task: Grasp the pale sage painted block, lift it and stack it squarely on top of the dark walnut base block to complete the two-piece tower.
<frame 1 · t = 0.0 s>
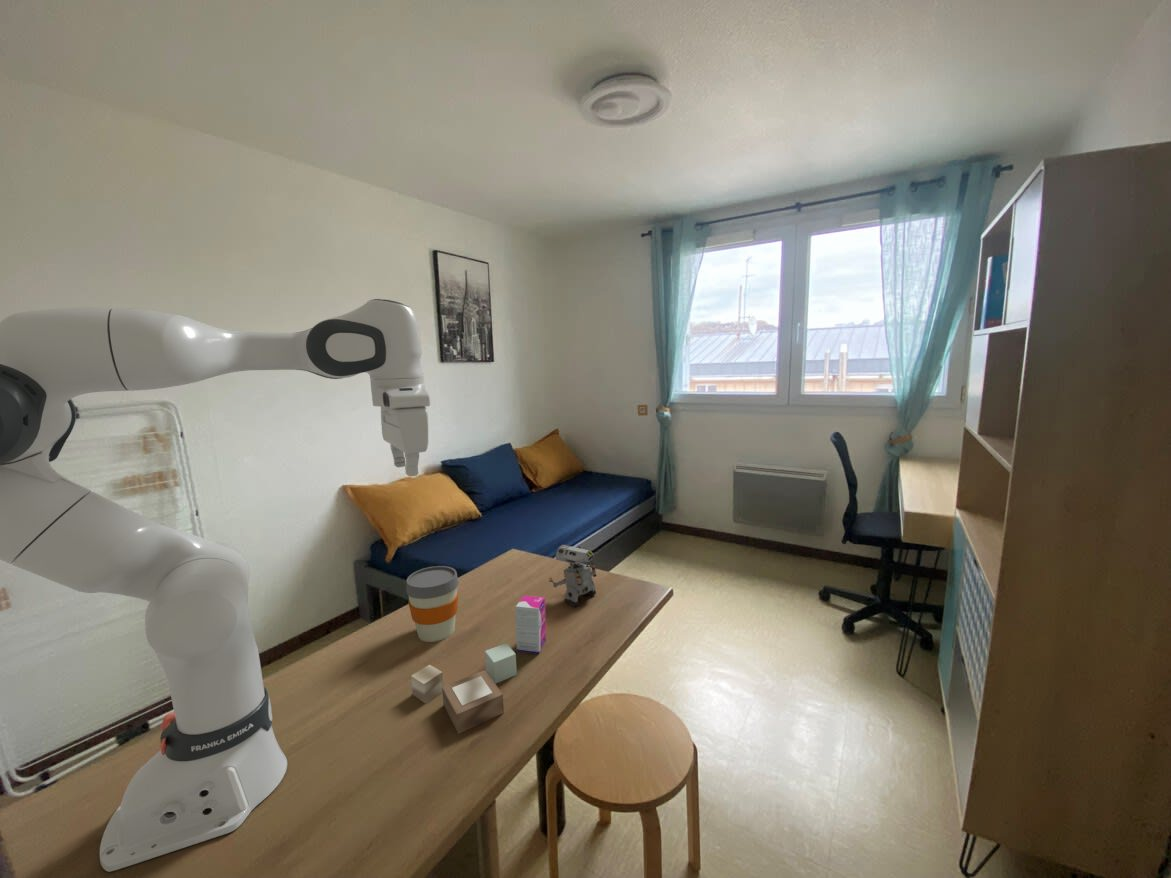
hand: (405, 470, 85), 48 cm above the table, fingers open, 8 cm apart
reusable coffee cup: (436, 632, 119), on the table
supplement box: (532, 646, 112), on the table
sage block: (501, 673, 102), on the table
figurine: (574, 597, 135), on the table
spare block: (428, 693, 97), on the table
walnut base: (473, 709, 92), on the table
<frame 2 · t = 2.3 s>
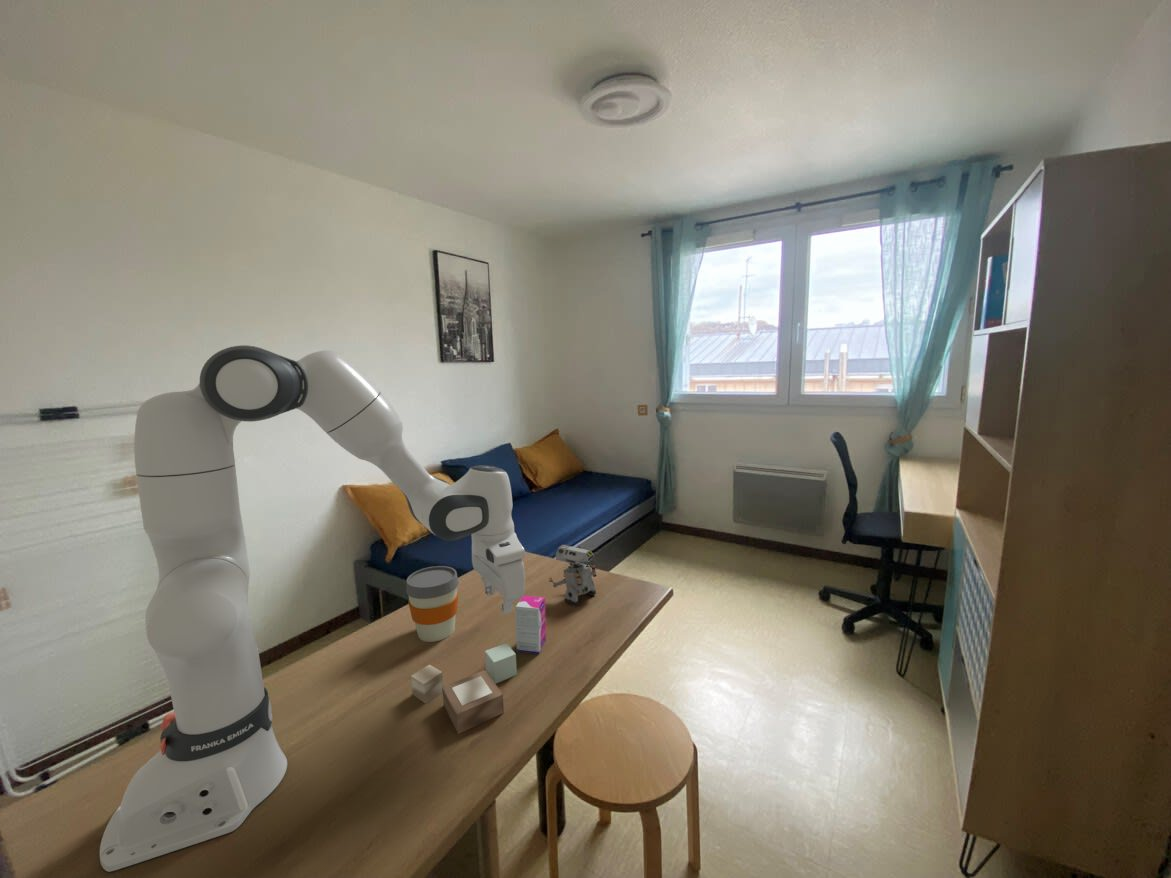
hand: (498, 602, 100), 16 cm above the table, fingers open, 8 cm apart
nothing on the table moved.
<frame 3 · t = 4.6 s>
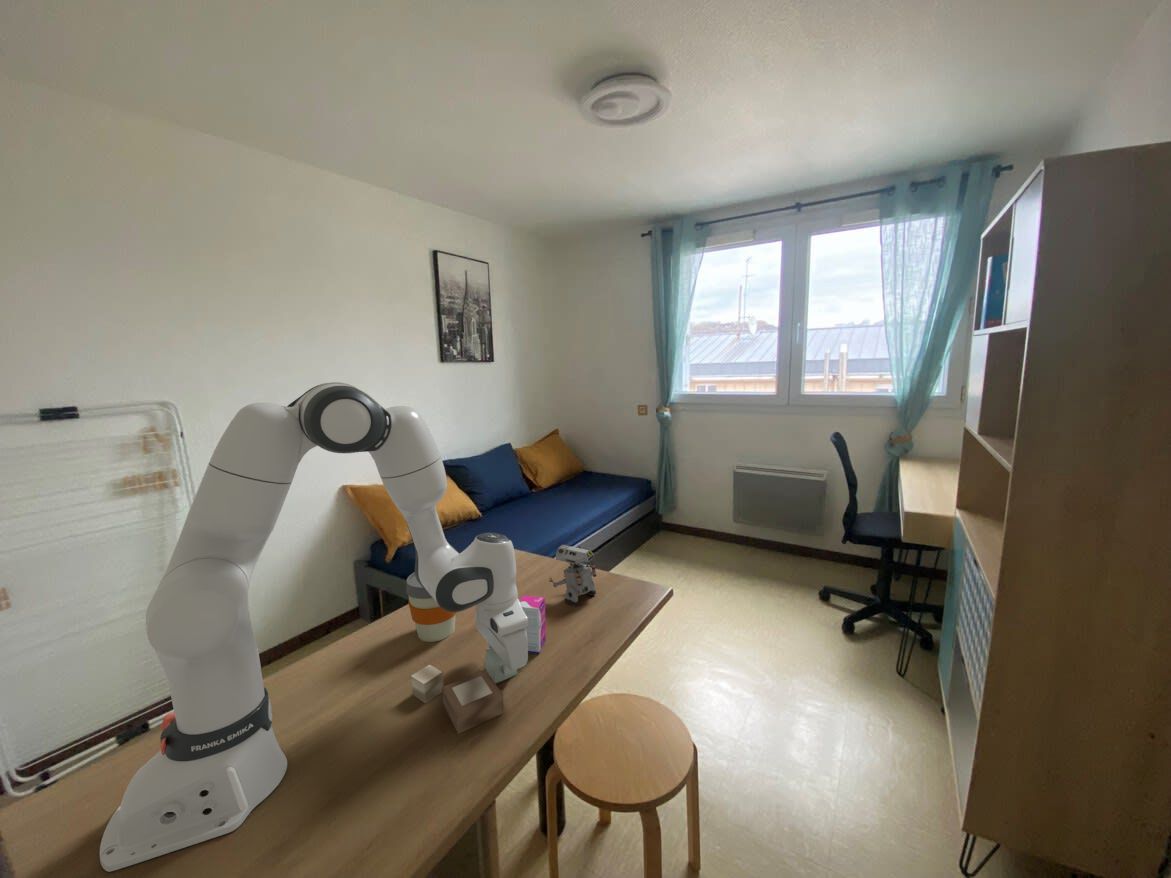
hand: (501, 665, 102), 2 cm above the table, fingers closed on sage block, 5 cm apart
sage block: (501, 672, 102), on the table, touching gripper
everything else where it was.
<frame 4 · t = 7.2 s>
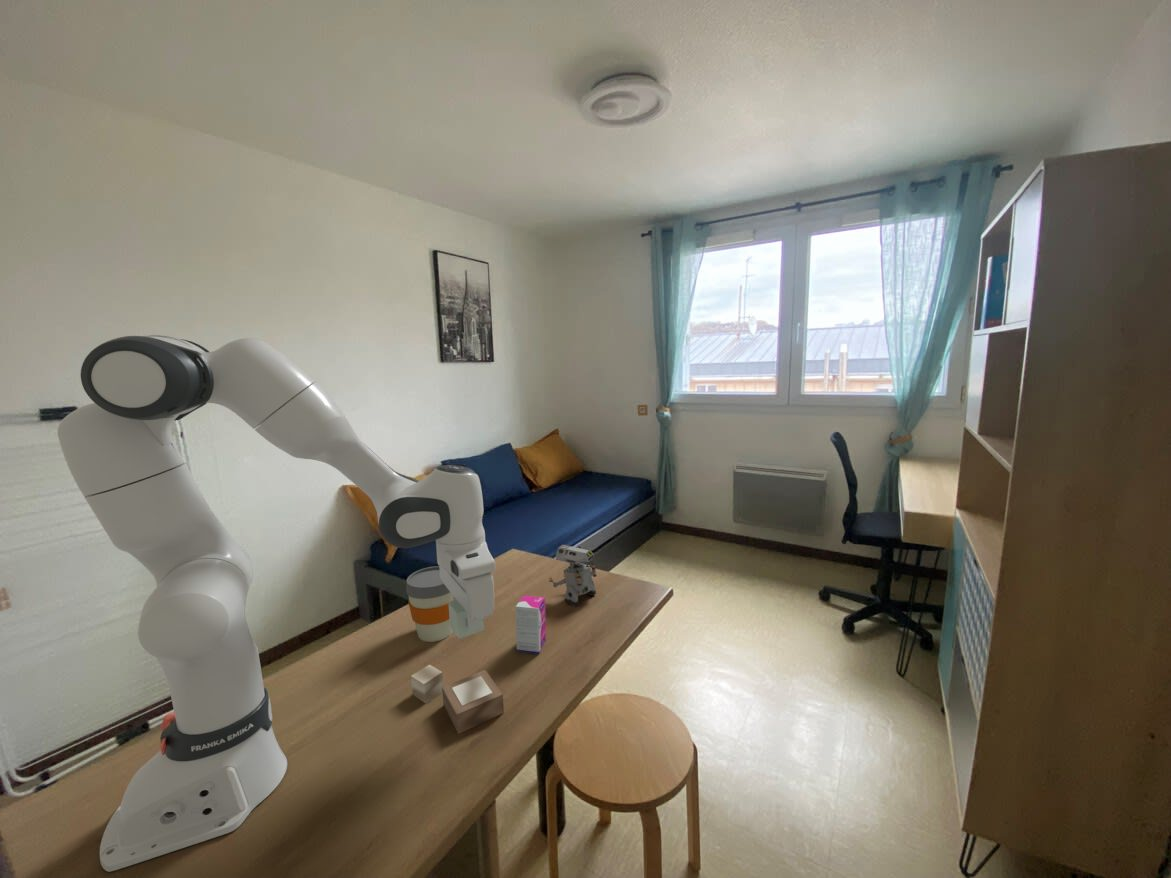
hand: (466, 620, 89), 19 cm above the table, fingers closed on sage block, 5 cm apart
sage block: (467, 628, 89), point 17 cm above the table, touching gripper
everything else where it was.
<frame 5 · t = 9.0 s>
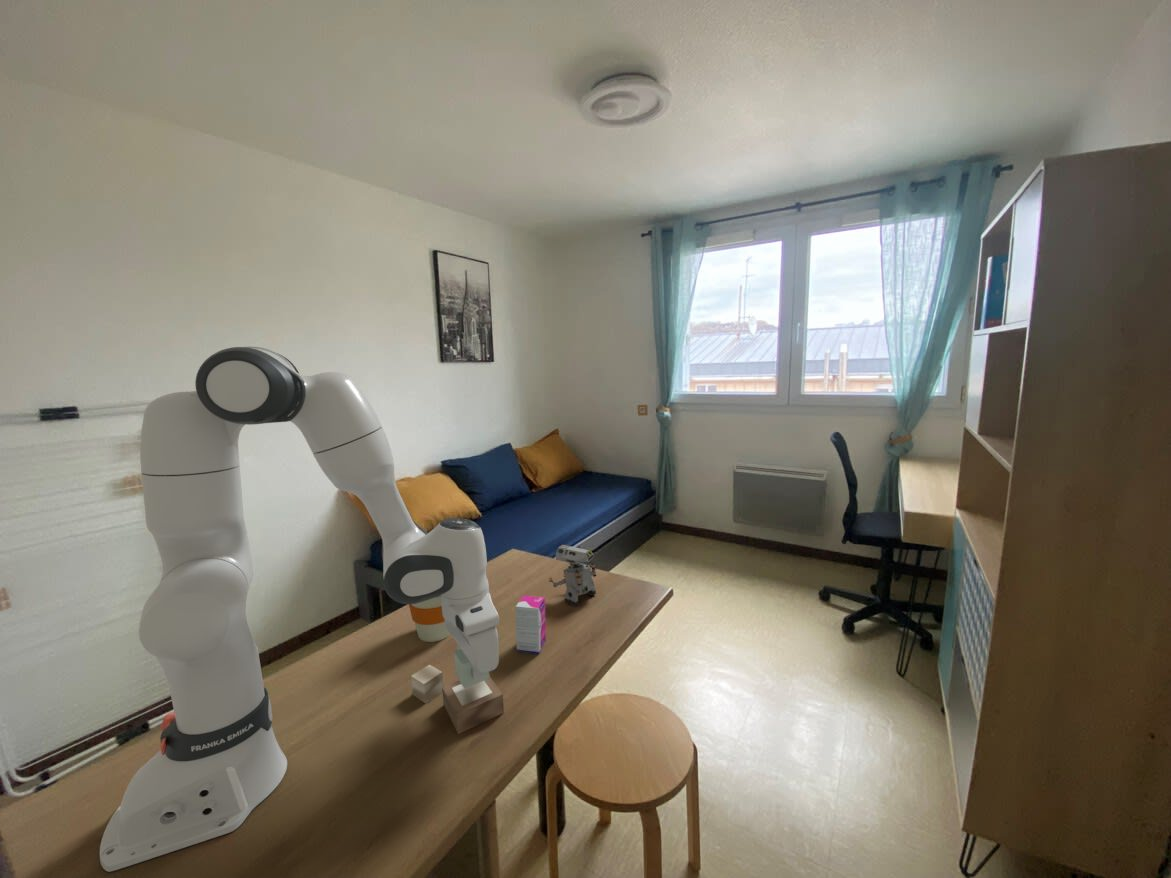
hand: (471, 668, 90), 9 cm above the table, fingers closed on sage block, 5 cm apart
sage block: (472, 676, 91), point 7 cm above the table, touching gripper
everything else where it was.
when the fingers open (6 cm above the table, at t = 10.3 s): sage block stays where it is, resting on walnut base.
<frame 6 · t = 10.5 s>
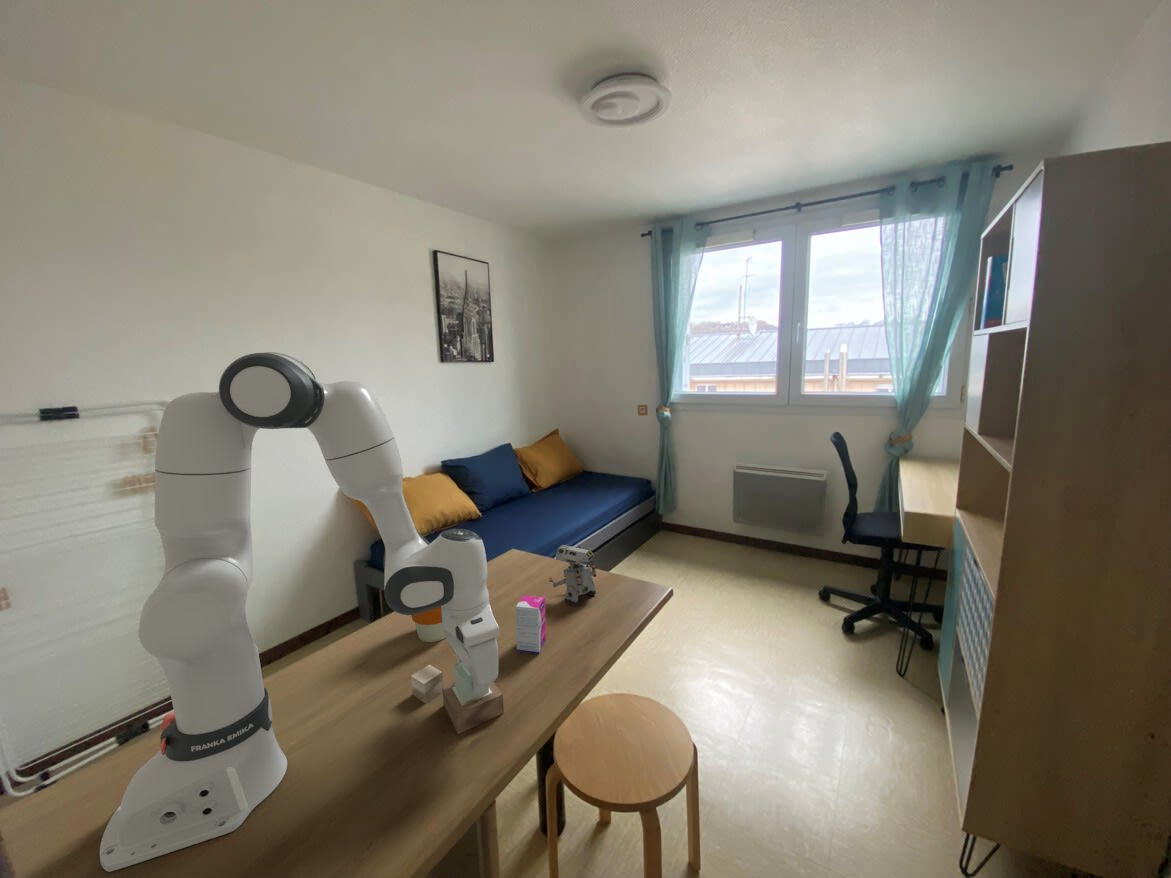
hand: (470, 679, 91), 6 cm above the table, fingers open, 6 cm apart
sage block: (472, 690, 91), point 4 cm above the table, touching walnut base
everything else where it was.
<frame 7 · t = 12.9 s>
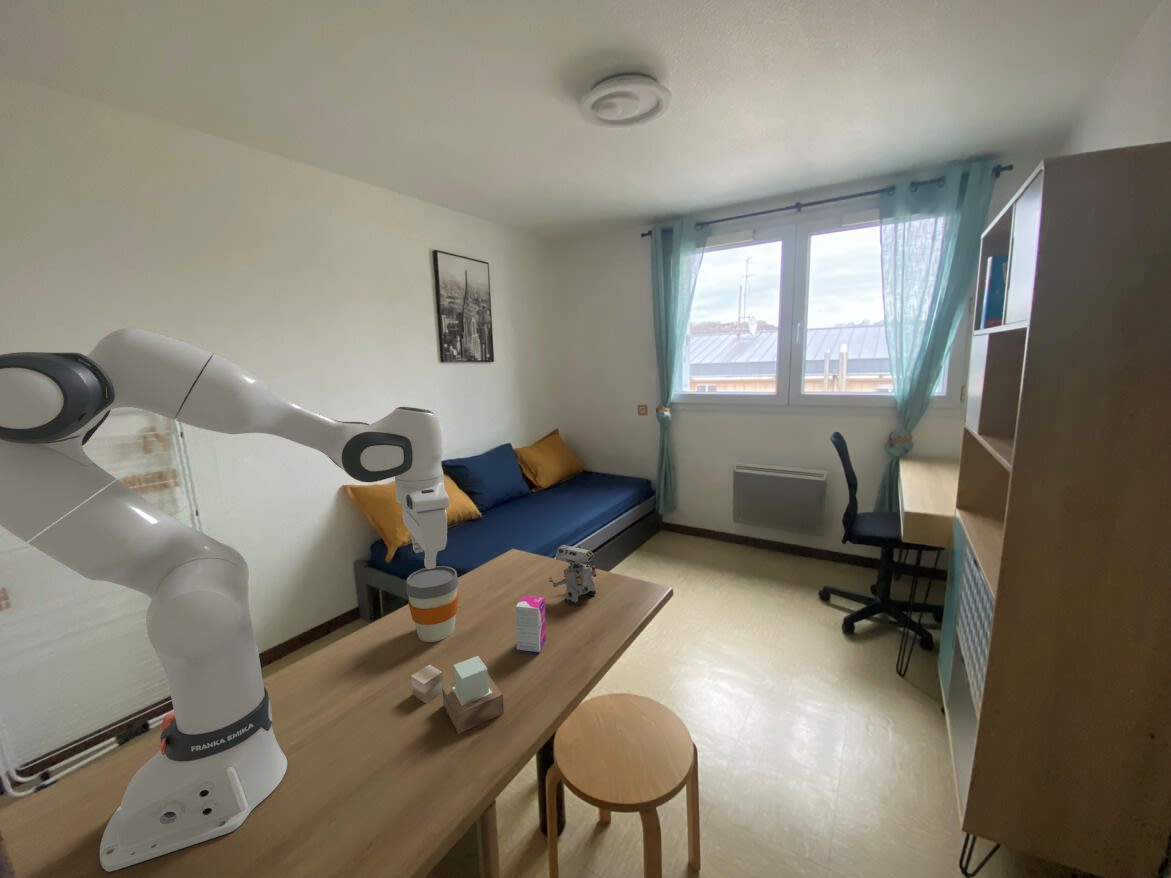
hand: (424, 559, 92), 29 cm above the table, fingers open, 8 cm apart
nothing on the table moved.
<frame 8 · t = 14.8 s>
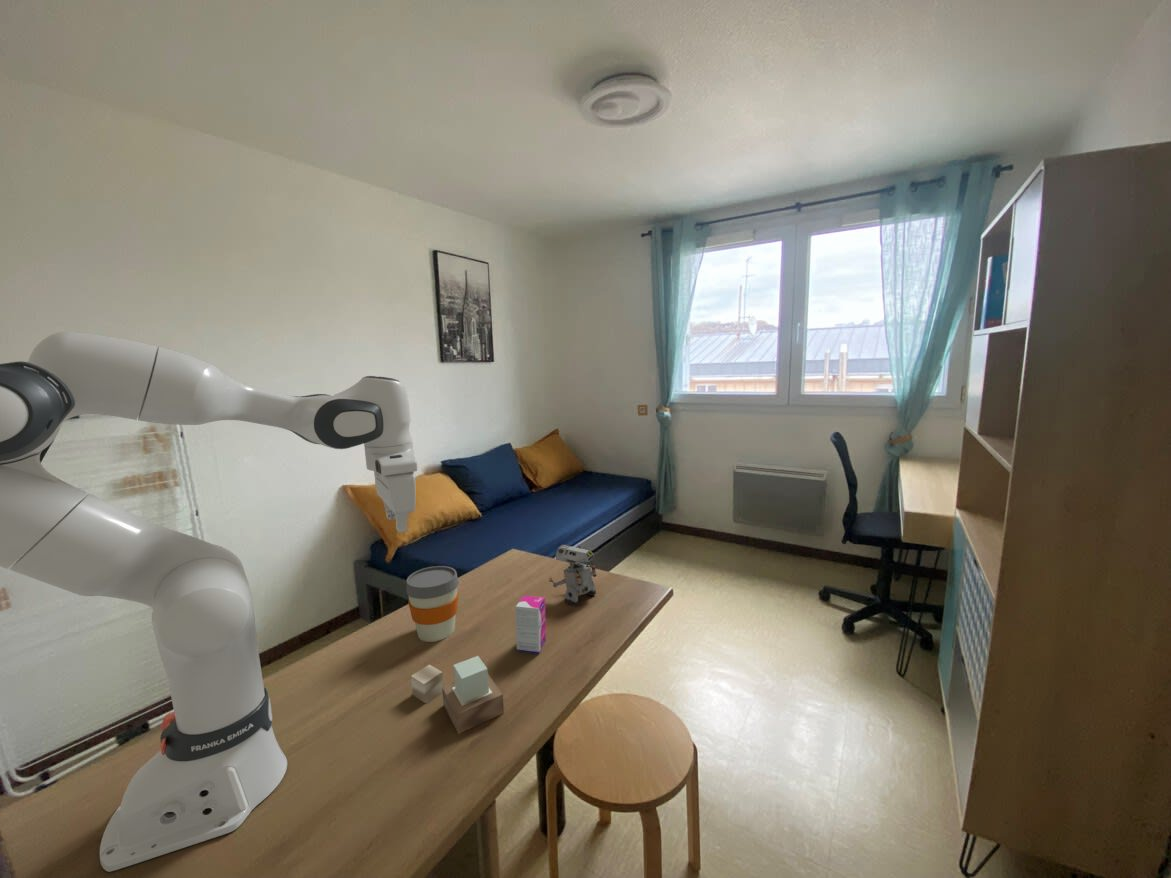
hand: (396, 524, 95), 35 cm above the table, fingers open, 8 cm apart
nothing on the table moved.
at the end: sage block 0.0 cm off-centre on the walnut base, point 4.1 cm above the walnut base's base; sage block tilted 0°; the gripper is holding nothing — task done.
